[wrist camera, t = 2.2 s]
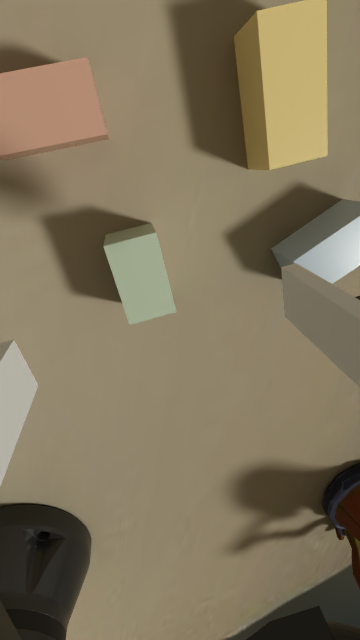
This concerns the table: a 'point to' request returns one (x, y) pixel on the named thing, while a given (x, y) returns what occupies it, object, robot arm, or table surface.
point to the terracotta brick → (49, 109)
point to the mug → (346, 511)
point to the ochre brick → (284, 84)
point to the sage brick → (139, 273)
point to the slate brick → (325, 243)
